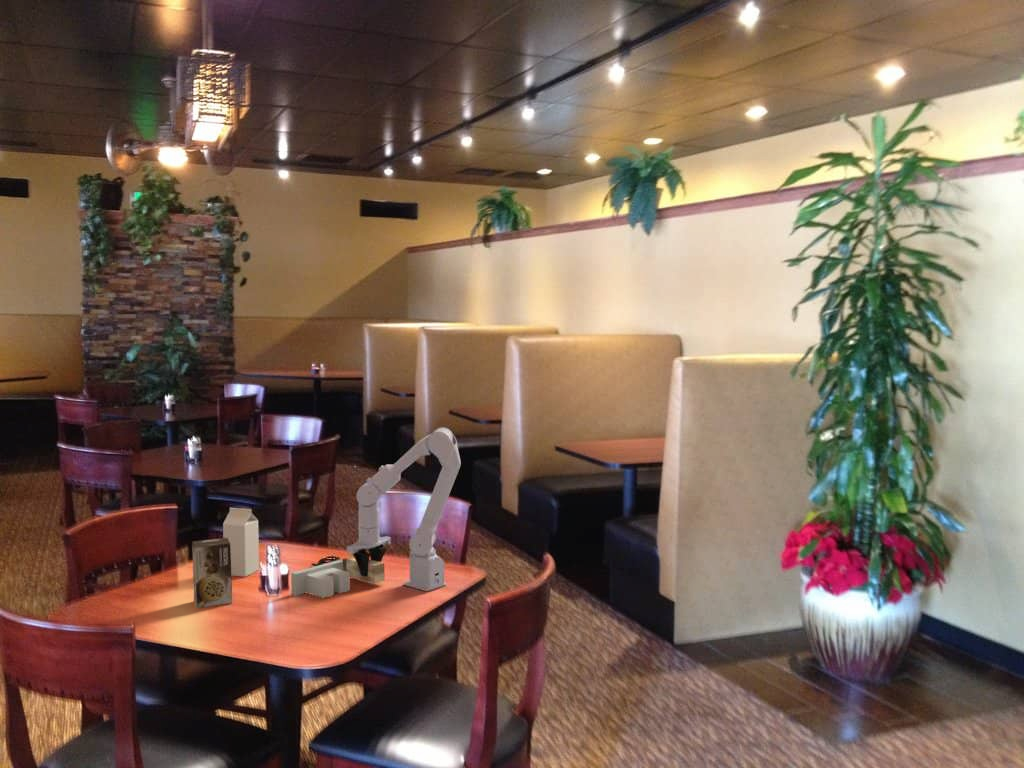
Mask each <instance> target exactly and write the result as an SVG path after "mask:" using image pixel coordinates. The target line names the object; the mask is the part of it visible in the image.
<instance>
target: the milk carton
mask: <svg viewBox="0 0 1024 768" xmlns="http://www.w3.org/2000/svg"><path fill="white" fill-rule="evenodd" d="M222 533H223V535H222V536H223V537H222V538H228V540H229V542H230V543H231V573H232V577H242V578H243V577H244V578H245V577H248V576H249V575H250V576H251V575H252V574H254V573H255V572H258V571H259V570H260V553H259V552H260V549H259V548H260V546H259V543H260V542H259V540H260V539H259V519H258V518H257V517H256V516H255V514H253V512H252V508H243V507H241V508H238V507H229V512H228V513H227V516H226V518H225V519H224V521H223V524H222Z"/></svg>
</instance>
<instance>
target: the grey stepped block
mask: <svg viewBox="0 0 1024 768" xmlns="http://www.w3.org/2000/svg"><path fill="white" fill-rule="evenodd" d="M290 573H291V577H290V578H291V583H290V584H291V596H294V595H295V596H294V597H299V596H301V594H302V595H304V594H303V593H306V592H307V593H306V594H308V593H311V594H313V595H312V596H314V595H316V596H315V597H317V596H319V597H318V598H320V597H321V599H323V598H324V599H326V598H325V597H327V598H329V596H330V597H333V596H332V595H334V594H335V593H337V592H338V594H343V593H346V592H350V591H349V590H351V582H350V580H351V579H350V578H351V577H350V572H346V571H343V560H337V561H333V562H330V563H326V564H325V563H323V564H322V563H321V564H319V566H315V567H312V566H311V567H308V568H304V569H300V570H297V571H293V572H290ZM334 591H335V593H334ZM342 592H343V593H342ZM311 594H310V595H311ZM298 595H299V596H298Z"/></svg>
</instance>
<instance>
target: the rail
mask: <svg viewBox="0 0 1024 768" xmlns="http://www.w3.org/2000/svg"><path fill="white" fill-rule="evenodd" d="M342 561H343V571H346V572H350V578H353V579H356V580H360V581H364V582H367V583H368V582H369V583H371V584H378V583H382V582H385V579H386V578H385V562H382V561H381V562H378V561H374V560H371V558H369V562H368V575H367V576H366V577H364V576H361V574H360V570H359V567H358V564H357V561H356V559H355V558H354V556H351V557H344V558H342Z"/></svg>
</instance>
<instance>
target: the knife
mask: <svg viewBox="0 0 1024 768" xmlns="http://www.w3.org/2000/svg"><path fill="white" fill-rule="evenodd" d="M327 558H332V559H327ZM333 558H335V559H333ZM338 559H340V560H341V557H340V556H334V555H329V556H328V555H327V556H326V557H323V558H322V557H321V558H320V559H319V560H318V562H317V563H313V562H311V564H310V565H311V566H319V565H321V564H322V563H323V564H325V563H330V562H333V561H337V560H338ZM321 562H322V563H321Z"/></svg>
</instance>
